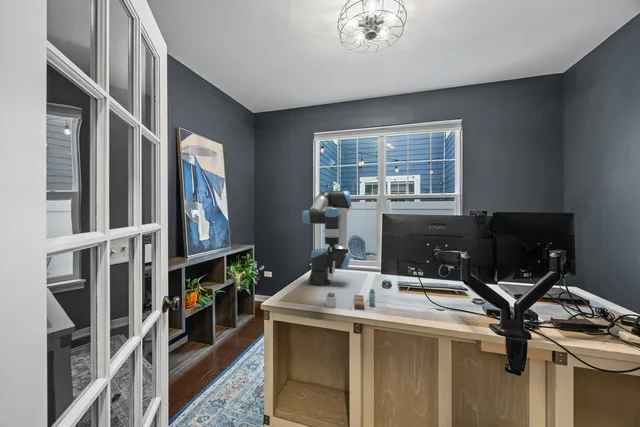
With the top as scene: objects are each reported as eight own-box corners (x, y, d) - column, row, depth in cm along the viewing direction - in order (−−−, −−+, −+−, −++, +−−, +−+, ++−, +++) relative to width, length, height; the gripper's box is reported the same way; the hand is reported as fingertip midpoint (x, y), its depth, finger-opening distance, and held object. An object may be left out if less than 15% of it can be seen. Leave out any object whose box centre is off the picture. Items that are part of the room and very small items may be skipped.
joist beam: (354, 299, 153) (354, 295, 153) (363, 299, 153) (363, 295, 153) (354, 309, 140) (354, 304, 139) (364, 309, 139) (364, 304, 139)
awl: (369, 303, 147) (369, 288, 147) (374, 304, 147) (374, 288, 146) (369, 305, 144) (369, 290, 144) (375, 306, 144) (375, 290, 143)
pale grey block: (327, 303, 148) (327, 292, 147) (336, 303, 147) (336, 292, 147) (326, 306, 143) (326, 295, 142) (335, 307, 142) (335, 296, 142)
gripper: (326, 233, 156) (326, 269, 157) (322, 239, 131) (322, 282, 132) (339, 234, 155) (339, 270, 156) (337, 239, 130) (337, 282, 131)
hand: (331, 275), depth 144 cm, fingers open, 13 cm apart
